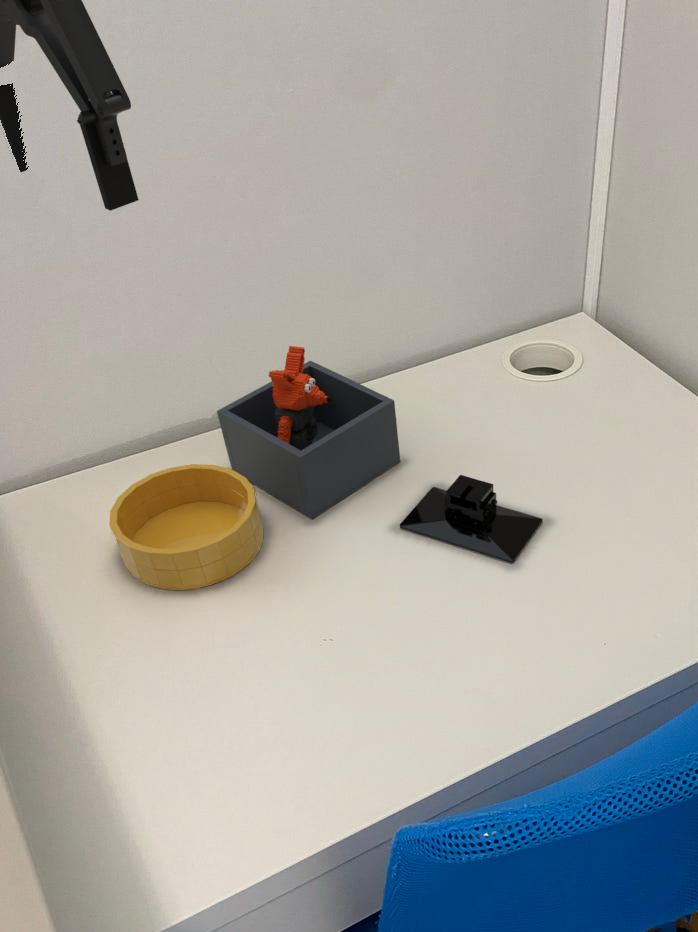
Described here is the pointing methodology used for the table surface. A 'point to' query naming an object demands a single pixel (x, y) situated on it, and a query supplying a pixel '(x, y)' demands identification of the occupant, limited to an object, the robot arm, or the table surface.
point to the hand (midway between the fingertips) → (75, 185)
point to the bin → (313, 443)
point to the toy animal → (296, 401)
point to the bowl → (187, 526)
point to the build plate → (472, 520)
